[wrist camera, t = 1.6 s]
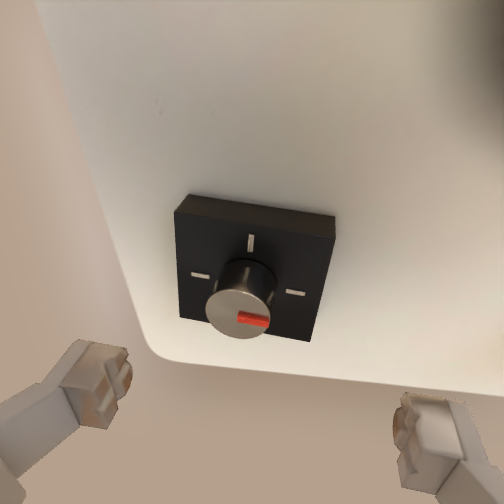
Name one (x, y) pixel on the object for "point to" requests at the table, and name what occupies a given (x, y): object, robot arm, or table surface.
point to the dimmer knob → (242, 299)
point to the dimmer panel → (254, 256)
